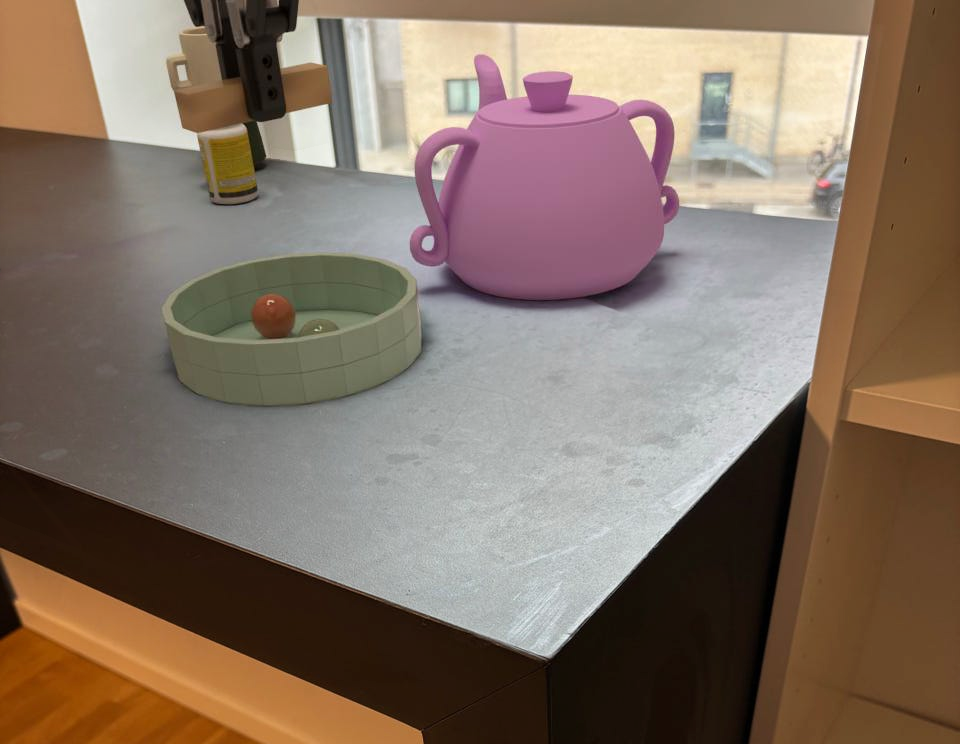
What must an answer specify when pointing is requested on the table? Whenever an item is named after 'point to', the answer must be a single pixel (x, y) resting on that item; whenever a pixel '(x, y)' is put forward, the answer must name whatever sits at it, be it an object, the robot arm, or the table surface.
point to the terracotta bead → (273, 316)
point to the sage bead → (317, 327)
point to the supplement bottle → (228, 164)
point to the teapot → (546, 191)
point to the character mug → (206, 75)
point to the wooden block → (227, 100)
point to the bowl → (295, 329)
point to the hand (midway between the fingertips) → (257, 115)
